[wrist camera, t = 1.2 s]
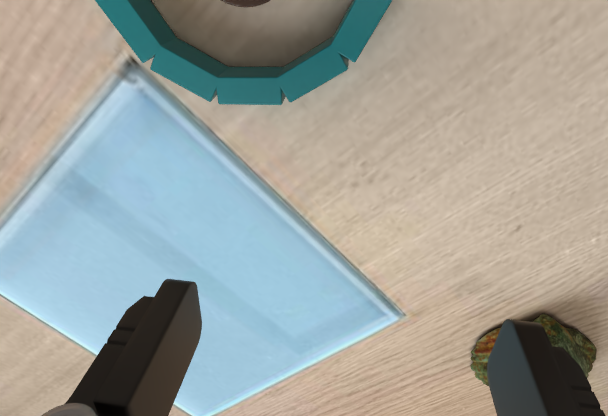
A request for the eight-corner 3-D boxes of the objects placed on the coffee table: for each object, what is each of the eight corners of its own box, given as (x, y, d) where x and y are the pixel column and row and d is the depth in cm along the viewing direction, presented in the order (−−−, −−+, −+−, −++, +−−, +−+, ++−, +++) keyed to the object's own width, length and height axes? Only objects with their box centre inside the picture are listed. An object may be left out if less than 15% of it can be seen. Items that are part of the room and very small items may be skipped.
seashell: (471, 428, 36) (505, 348, 30) (458, 385, 39) (486, 306, 34) (591, 434, 35) (647, 356, 30) (567, 390, 39) (613, 313, 34)
